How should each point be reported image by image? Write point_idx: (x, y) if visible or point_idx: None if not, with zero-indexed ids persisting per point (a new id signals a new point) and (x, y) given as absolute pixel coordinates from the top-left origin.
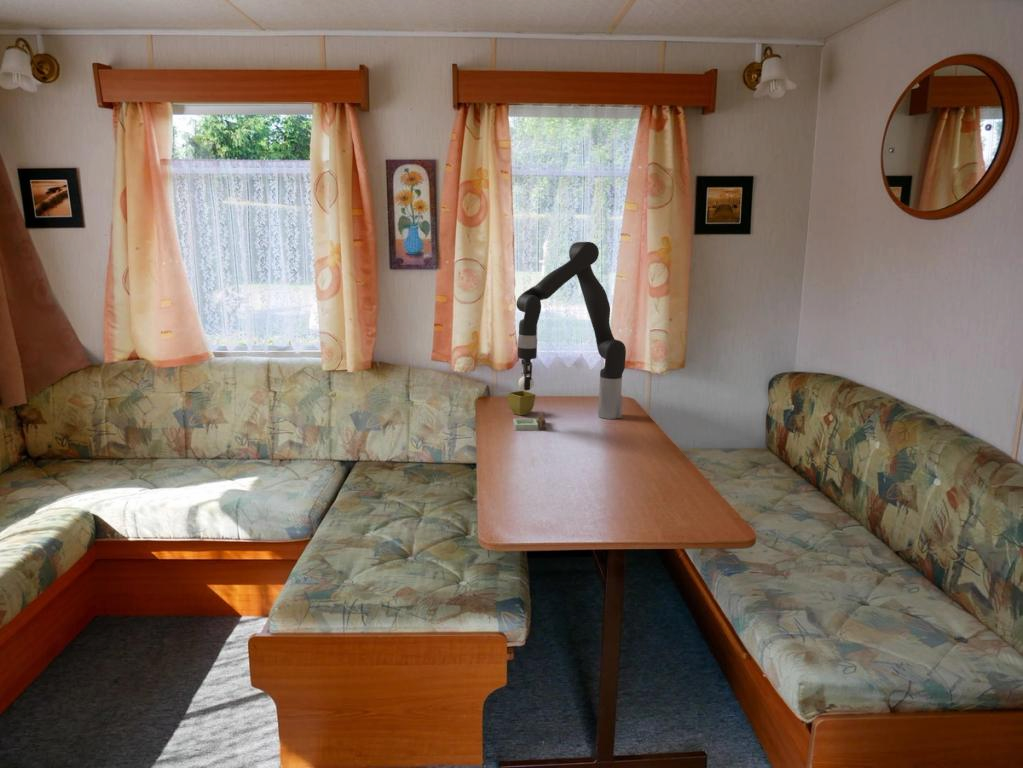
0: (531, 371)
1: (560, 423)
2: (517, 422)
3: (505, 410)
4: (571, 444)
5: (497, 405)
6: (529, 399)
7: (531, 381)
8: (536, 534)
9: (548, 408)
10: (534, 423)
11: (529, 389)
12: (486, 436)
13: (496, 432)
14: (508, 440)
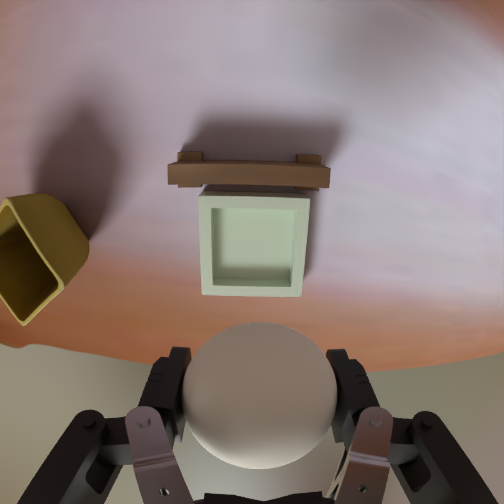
0: (480, 479)
1: (207, 74)
2: (213, 272)
3: None
4: (477, 122)
5: None
6: (40, 225)
7: (324, 385)
8: None
9: (4, 125)
10: (265, 207)
11: (343, 350)
12: None
13: None
14: (404, 314)
